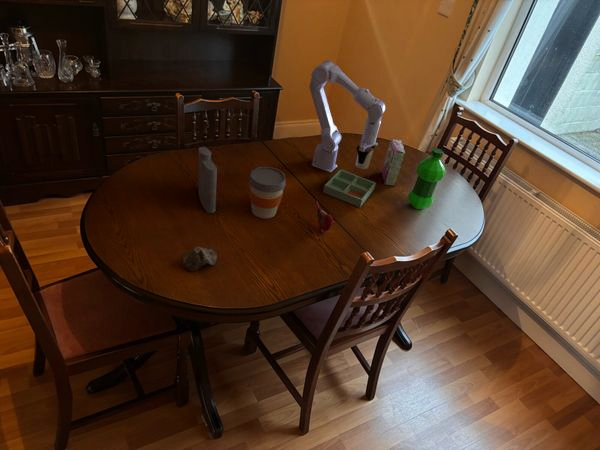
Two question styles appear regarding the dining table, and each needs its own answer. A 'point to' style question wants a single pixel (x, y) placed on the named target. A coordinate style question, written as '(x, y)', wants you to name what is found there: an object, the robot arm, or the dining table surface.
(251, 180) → the reusable coffee cup
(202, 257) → the grey lumpy rock
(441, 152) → the plastic bottle
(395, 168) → the candy bar box
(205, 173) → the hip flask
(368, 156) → the paper cup
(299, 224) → the dining table surface
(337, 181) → the green divided tray
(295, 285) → the dining table surface
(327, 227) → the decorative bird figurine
